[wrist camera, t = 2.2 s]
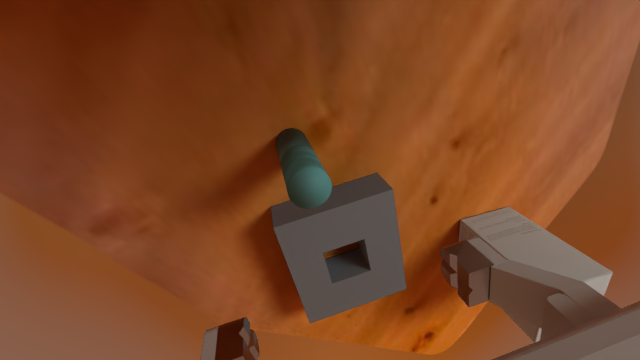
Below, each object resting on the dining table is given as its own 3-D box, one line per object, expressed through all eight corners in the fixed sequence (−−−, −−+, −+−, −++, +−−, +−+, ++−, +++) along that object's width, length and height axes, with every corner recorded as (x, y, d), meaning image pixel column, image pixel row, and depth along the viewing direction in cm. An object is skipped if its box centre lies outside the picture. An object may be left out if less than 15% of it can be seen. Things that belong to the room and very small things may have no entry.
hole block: (377, 172, 32) (393, 189, 29) (392, 266, 38) (406, 288, 35) (270, 206, 31) (273, 228, 27) (304, 296, 37) (310, 323, 34)
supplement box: (455, 262, 41) (532, 345, 30) (459, 218, 37) (547, 293, 26) (502, 249, 42) (594, 325, 31) (510, 204, 38) (617, 272, 27)
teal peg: (302, 124, 28) (326, 162, 19) (309, 152, 29) (335, 201, 21) (271, 133, 28) (282, 176, 19) (281, 161, 29) (294, 214, 20)
